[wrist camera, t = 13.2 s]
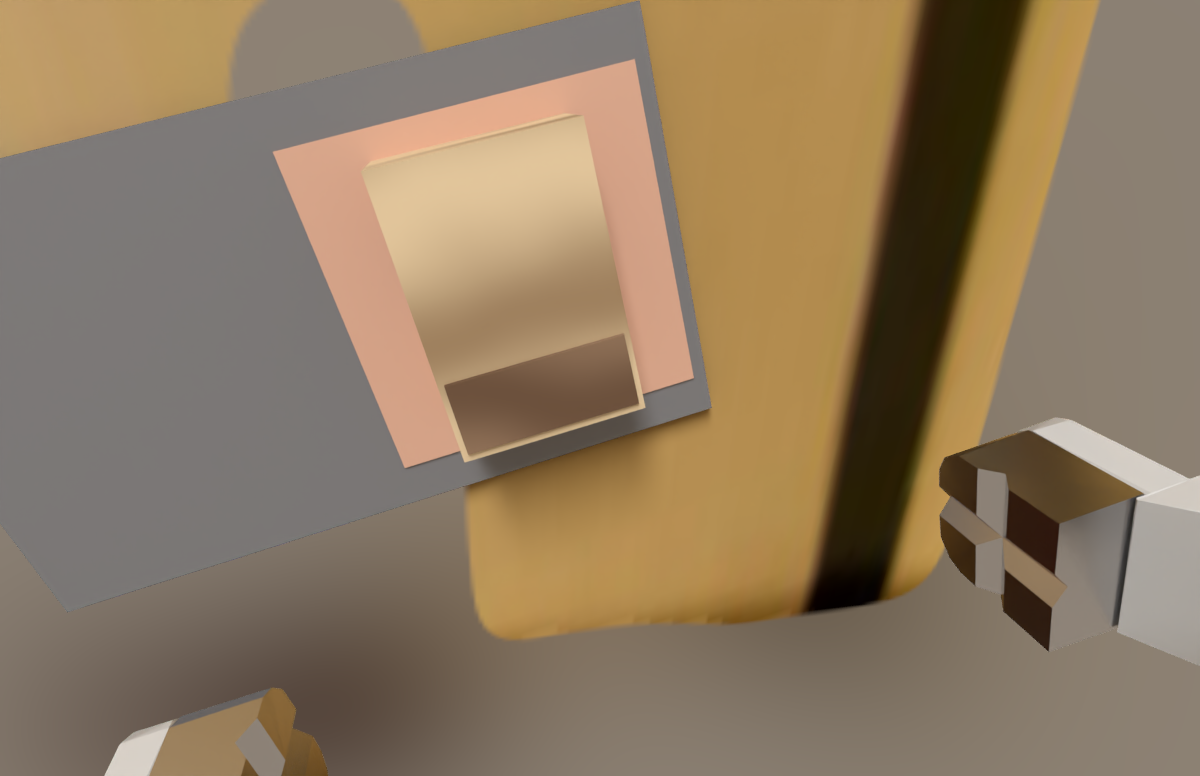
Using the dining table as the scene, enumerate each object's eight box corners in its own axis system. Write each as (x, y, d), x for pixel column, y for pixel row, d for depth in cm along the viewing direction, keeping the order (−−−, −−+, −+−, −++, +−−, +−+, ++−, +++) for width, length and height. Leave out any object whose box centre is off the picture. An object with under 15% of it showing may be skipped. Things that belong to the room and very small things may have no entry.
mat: (75, 601, 24) (65, 614, 24) (-214, 212, 18) (-237, 216, 18) (705, 401, 27) (712, 408, 26) (634, 2, 21) (640, -1, 20)
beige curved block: (370, 161, 20) (359, 172, 17) (564, 113, 21) (584, 115, 18) (461, 421, 24) (464, 465, 21) (622, 373, 25) (647, 409, 22)
